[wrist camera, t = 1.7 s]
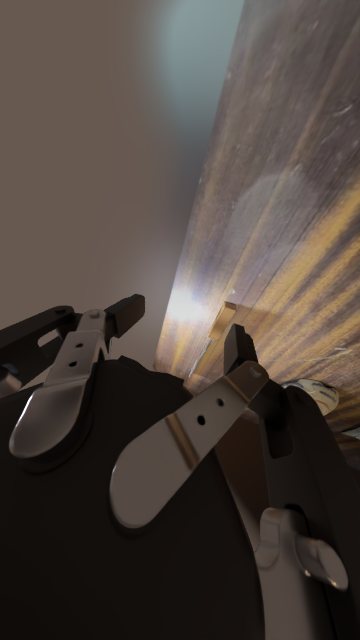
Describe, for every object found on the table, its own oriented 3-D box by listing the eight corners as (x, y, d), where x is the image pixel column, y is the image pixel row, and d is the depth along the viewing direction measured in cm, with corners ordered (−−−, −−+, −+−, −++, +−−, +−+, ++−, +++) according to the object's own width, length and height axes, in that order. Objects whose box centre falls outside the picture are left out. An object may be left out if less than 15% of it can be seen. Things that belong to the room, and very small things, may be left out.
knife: (224, 301, 27) (224, 306, 25) (235, 305, 27) (236, 311, 25) (187, 370, 45) (185, 377, 43) (193, 373, 45) (191, 380, 43)
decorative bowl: (348, 382, 29) (271, 376, 35) (362, 398, 27) (276, 389, 32) (327, 413, 37) (266, 403, 42) (336, 428, 34) (269, 416, 39)
